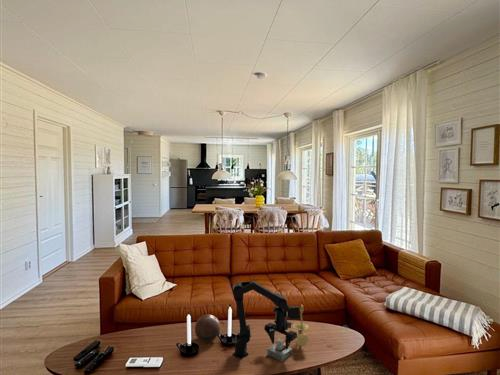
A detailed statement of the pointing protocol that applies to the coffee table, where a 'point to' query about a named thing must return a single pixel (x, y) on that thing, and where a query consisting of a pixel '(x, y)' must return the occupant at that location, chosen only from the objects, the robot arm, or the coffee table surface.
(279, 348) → the wedge pin
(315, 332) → the coffee table surface
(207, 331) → the wooden sphere
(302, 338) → the wall sconce
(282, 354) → the rosette plate
